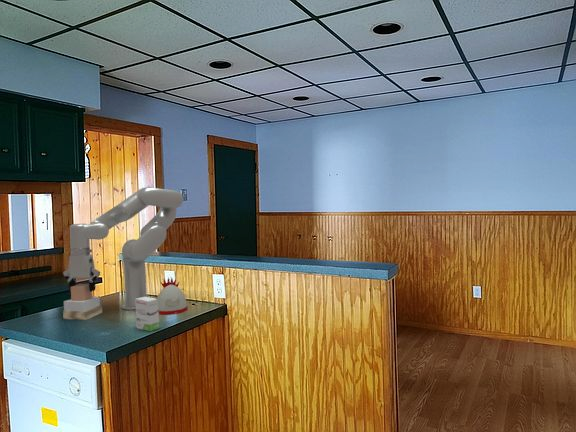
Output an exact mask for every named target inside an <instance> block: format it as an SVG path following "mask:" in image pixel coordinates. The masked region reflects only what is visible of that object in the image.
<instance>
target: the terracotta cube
mask: <svg viewBox="0 0 576 432" xmlns="http://www.w3.org/2000/svg"><path fill="white" fill-rule="evenodd" d="M70 295H71V296H70V299H71V301H85V300H87V299H90V298H92V297H93V291H92V292H90V291H89V283H78V284H75V286H72V287H71V291H70Z"/></svg>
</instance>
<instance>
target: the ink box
mask: <svg viewBox="0 0 576 432" xmlns="http://www.w3.org/2000/svg"><path fill="white" fill-rule="evenodd" d="M135 306H136V309H135V322H136V323H135V324H136V329H138V330H143V331H147V332H152V331H156V330H158V329H160V314H159V311H158V299H157V298H156V297H154V298H153V297H150V296H149V297H141V298H136V299H135Z"/></svg>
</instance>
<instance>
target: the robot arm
mask: <svg viewBox="0 0 576 432" xmlns="http://www.w3.org/2000/svg"><path fill="white" fill-rule="evenodd" d="M183 202H184V196H183V194H182V193H181V192H180V191H178V190H173V189H166V188H165V189H164V188H157V187H152V186H146V187H142V188H140V189H138V190H136V191H135V192H134V193H132V194H131V195H129V196H128V197H127V198H125V199H124V200H122V201H121V202H120V203H118V204H116V205H114V206H113V207H112V208H110V209H109V210H107V211H106V212H103V214H101V215H100V216H98V217H96V218H95V219H94V220H93V221H91V222H89V223H88V224H87V223H73V224H71V225H70V226H69V245H70V247H69V248H70V255H69V259H68V268H67V269H66V270H64V271H63V272H62V274H63V276H64V278H65V280H66V281H67V283H68V288H69V292H71V287H72V286H75V285H76V280H75V279H87V280H88V281H89V283H88V284H89V291H90V292H92V293H93V292H94V291H96V282H97V280H98V279H99V277H100V274H101V271H100V270H98V269H96V268H95V267H96V266H95V260H94V257H93V255H92V254H91V253H92V251H93V250H92V249H91V247H90V240H103V239H105V238H107V236H108V235H109V233H110V230H111V229H112V228H114V227H115V226H118V225H119V224H121V223H123V222H126V221H129V220H131V219H132V218H134V217H135V216H136V215H138V214H139V213H140V212H142V211H143V210H145V209H146V208H147V207H149V206H151V207H152V206H153V207H159V209H158V212H157V213H156V214H155V215H154V216H153V217H152V218H151V219H150V220H149V221H148V222H147V223H146V224H145V225H143V227H142V228H141V230H140V231H139V237H138V238H137V239H128V240H127V241H126V242H125V243H124V244H123V245H122V248H121V256H122V262H123V276H124V277H123V278H124V299H125V302H124V303H123V304H122V305H121V308H122V309H123V310H128V311H130V310H131V311H133V310H135V311H136V306H135V299H136V298H141V297H150V296H149V295H148V294H147V273H146V272H147V271H146V268H147V267H146V262H145V261H146V260H147V259H148V258H149V257H151V256H152V255H153V254H154V253H155V252H156V251H157V249H159V247H161V246H162V244H163V243H164V242H165V240H166V239H167V230H168V229H169V227H170V226H172V224H173V222H174V221H175V220H176V217H177V216H176V215H177V208H179V207H181V206H182V205H183Z"/></svg>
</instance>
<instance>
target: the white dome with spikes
mask: <svg viewBox="0 0 576 432" xmlns="http://www.w3.org/2000/svg"><path fill="white" fill-rule="evenodd" d="M166 281H167V282H166ZM176 282H177V279H174V280H173V277H171V278H169V277H168V278H167V280H166V279H165V278H163V282H162V281H160V284H161V286H162V287H163V288H162V289H161V290H160V292H159V294H157V298H156V299H158V311H159V316H160V315H161V316H170V315H171V316H172V315H178V314H182V313H184V312H187V311H188V302H187V299H186V297H185V294H184V293H183V291H182V290H181V288H180V287H179V285H180V281H178V282H177V283H176Z"/></svg>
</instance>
